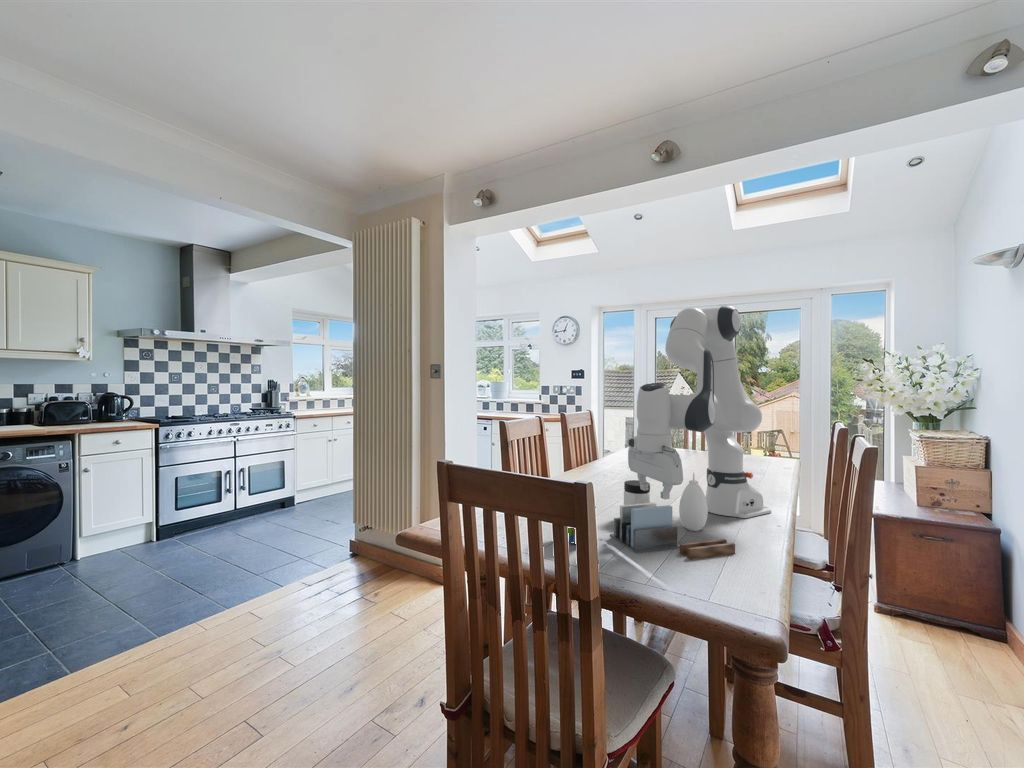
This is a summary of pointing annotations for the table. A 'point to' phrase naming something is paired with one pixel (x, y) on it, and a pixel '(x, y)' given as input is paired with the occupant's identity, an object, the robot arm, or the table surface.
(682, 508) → the sauce bottle
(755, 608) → the table surface
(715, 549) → the plate stand
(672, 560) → the table surface
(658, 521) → the plate
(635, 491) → the jar
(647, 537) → the dish rack
